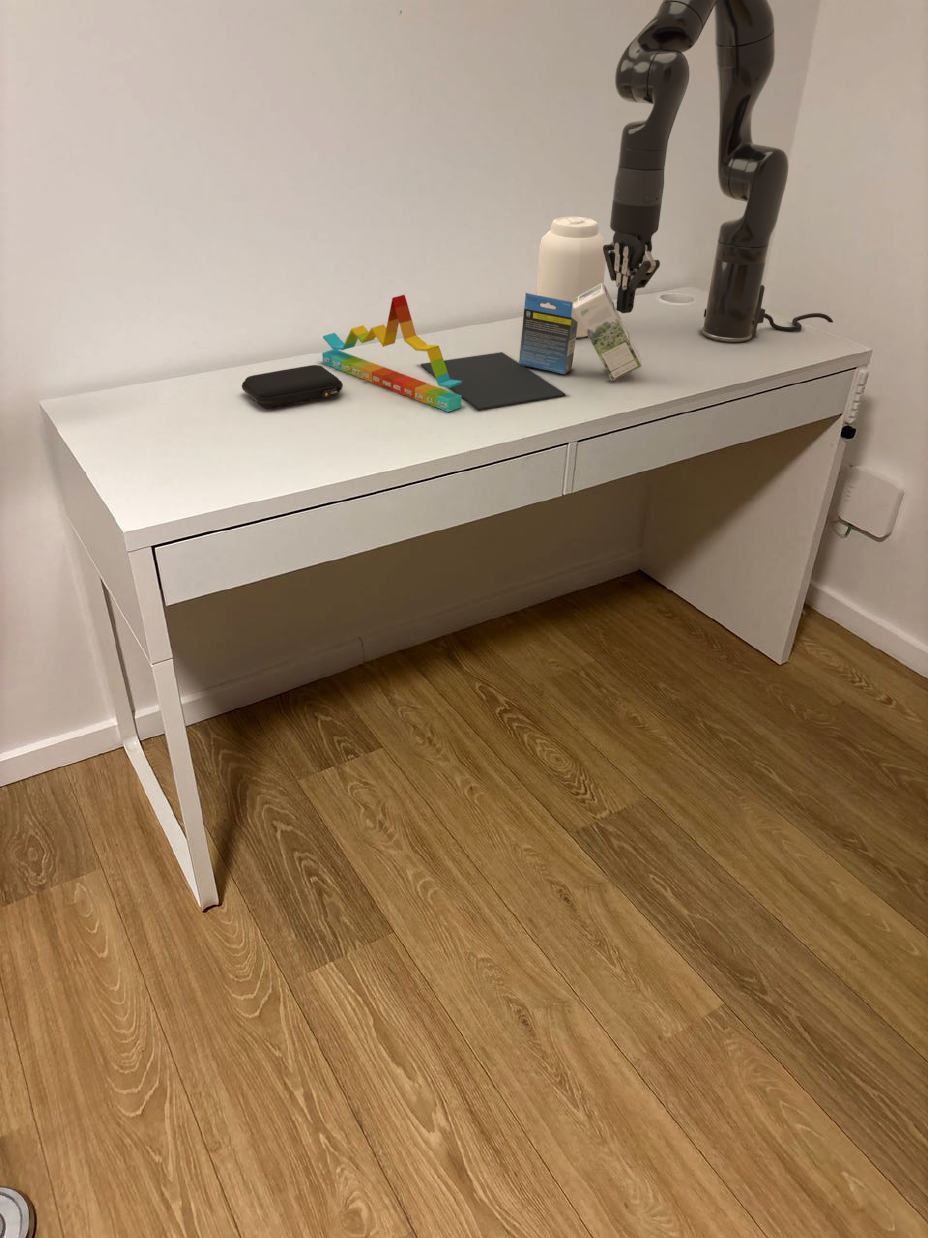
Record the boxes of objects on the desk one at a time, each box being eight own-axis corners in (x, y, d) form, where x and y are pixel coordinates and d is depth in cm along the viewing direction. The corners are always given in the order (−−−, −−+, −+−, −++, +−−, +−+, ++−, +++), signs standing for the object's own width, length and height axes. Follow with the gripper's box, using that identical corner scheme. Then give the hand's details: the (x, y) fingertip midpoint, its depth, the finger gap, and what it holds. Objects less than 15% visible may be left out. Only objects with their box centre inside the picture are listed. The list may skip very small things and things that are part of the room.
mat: (501, 354, 175) (501, 351, 175) (565, 395, 159) (565, 393, 159) (420, 365, 169) (420, 363, 169) (478, 410, 153) (478, 408, 153)
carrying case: (264, 415, 149) (350, 398, 156) (262, 396, 147) (350, 380, 154) (239, 393, 156) (322, 377, 163) (237, 374, 155) (321, 360, 161)
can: (538, 316, 194) (545, 210, 183) (601, 322, 192) (612, 214, 181) (529, 336, 184) (536, 224, 173) (595, 341, 182) (607, 229, 171)
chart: (321, 363, 169) (316, 275, 160) (335, 359, 171) (331, 271, 162) (447, 412, 152) (448, 316, 143) (461, 407, 154) (463, 312, 145)
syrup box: (640, 355, 167) (602, 280, 161) (642, 367, 162) (603, 290, 156) (610, 370, 169) (572, 297, 163) (611, 382, 164) (572, 307, 158)
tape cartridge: (572, 369, 169) (582, 297, 163) (564, 375, 166) (573, 302, 160) (526, 359, 172) (534, 288, 166) (517, 364, 169) (524, 292, 163)
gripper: (683, 205, 146) (666, 320, 156) (633, 188, 156) (620, 298, 165) (642, 208, 143) (628, 325, 153) (593, 191, 153) (583, 302, 162)
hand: (624, 311), depth 159 cm, fingers closed
